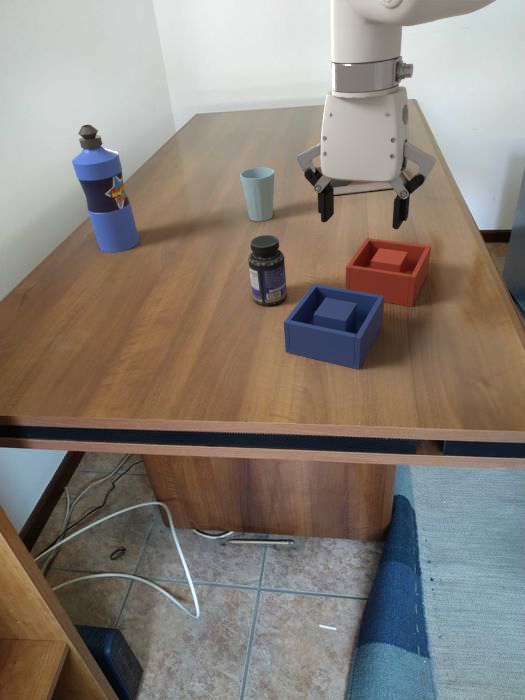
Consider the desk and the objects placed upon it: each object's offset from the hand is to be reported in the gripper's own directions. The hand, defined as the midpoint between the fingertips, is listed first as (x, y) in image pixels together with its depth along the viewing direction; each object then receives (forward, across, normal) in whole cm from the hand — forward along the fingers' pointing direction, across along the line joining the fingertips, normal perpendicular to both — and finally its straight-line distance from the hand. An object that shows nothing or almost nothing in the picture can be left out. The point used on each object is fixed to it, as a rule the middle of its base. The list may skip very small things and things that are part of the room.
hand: (361, 221), depth 66 cm
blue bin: (+19, +3, +2) cm, 19 cm away
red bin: (+18, 0, -17) cm, 25 cm away
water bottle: (+18, +61, -16) cm, 66 cm away
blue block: (+18, +3, +2) cm, 18 cm away
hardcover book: (+18, +21, -66) cm, 71 cm away
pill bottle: (+18, +18, -6) cm, 27 cm away
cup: (+18, +36, -38) cm, 55 cm away
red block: (+18, 0, -16) cm, 24 cm away
